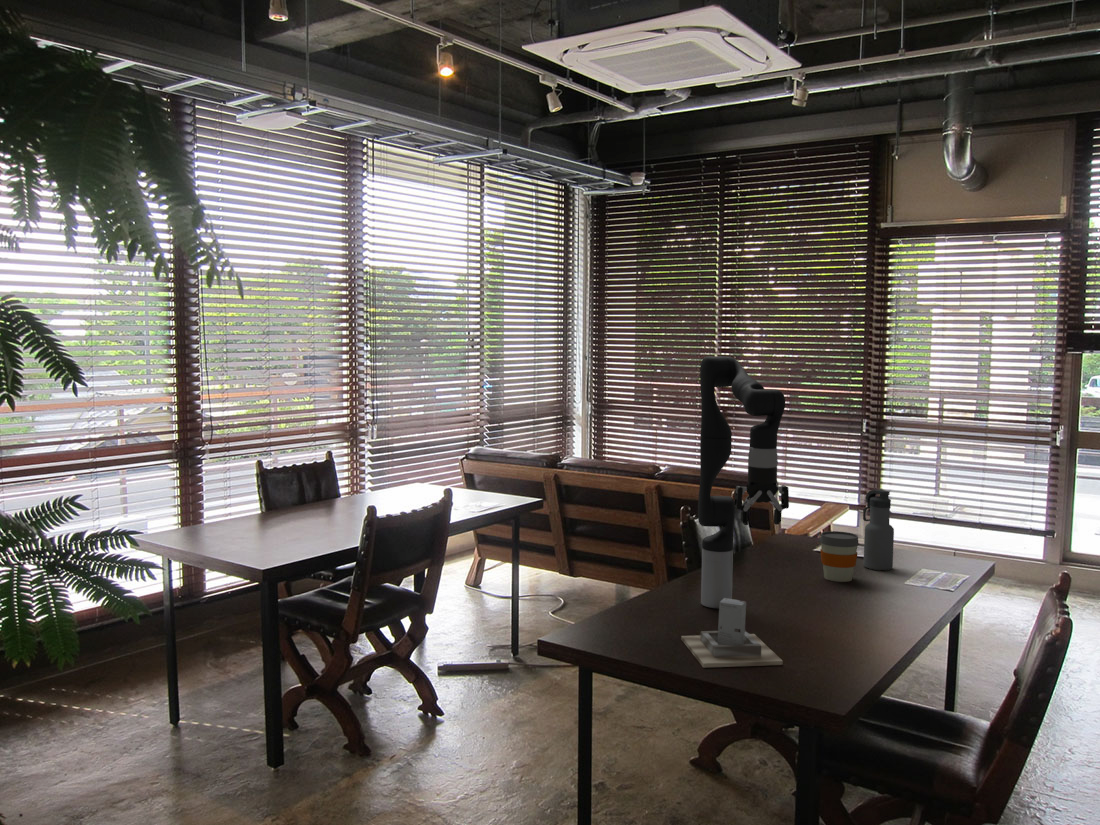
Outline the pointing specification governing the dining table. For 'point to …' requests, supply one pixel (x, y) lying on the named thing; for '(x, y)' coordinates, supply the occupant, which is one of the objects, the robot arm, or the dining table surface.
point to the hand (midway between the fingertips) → (760, 524)
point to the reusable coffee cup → (838, 555)
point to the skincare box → (731, 622)
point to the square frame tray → (730, 651)
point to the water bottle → (878, 532)
